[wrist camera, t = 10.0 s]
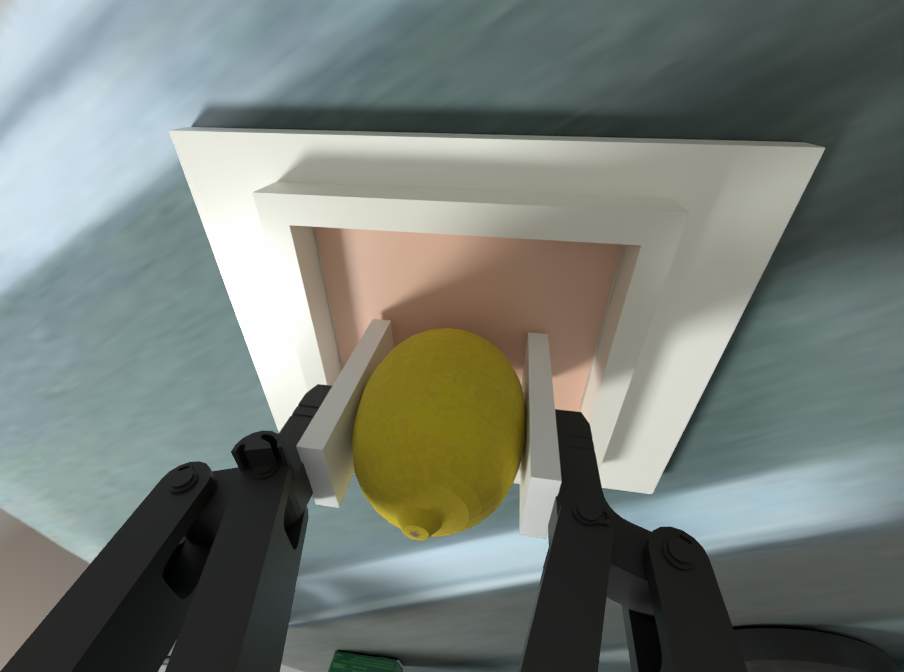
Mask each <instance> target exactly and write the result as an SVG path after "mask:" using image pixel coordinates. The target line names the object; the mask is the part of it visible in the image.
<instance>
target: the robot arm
mask: <svg viewBox="0 0 904 672" xmlns="http://www.w3.org/2000/svg"><path fill="white" fill-rule="evenodd" d="M393 348H394V346H393V336H392V326H391V320H380V319H373V320H372V321H371V323H370V325H369V326H368V328H367V330H366V331H365V333H364V335H363V336H362V338H361V340H360V341H359V343H358V345H357V346H356V348H355V350H354V351H353V353H352V354H351V356H350V358H349V359H348V361H347V363H346V364H345V366H344V368H343V369H342V371H341V373H340V374H339V376H338V378H337V379H336V381H335V383H334V384H333V386H330V385H321V384H317V385H316V386H315V387H313V388H312V389H311V390H309V391H308V392H307V393H306V394H305V395H304V397H303V398H302V400H301V401H300V402H299V404H298V407H296V408H295V410H294V411H293V413H292V416H290V417H289V419H288V420H287V422H286V423H285V425H284V426H283V428H282V429H281V431H280V432H279V434H277V433H275V432H273V431H260V432H255V433H252V434H250V435H248V436H246V437H244V438H243V439H242V440H240V441H239V442H238V443H237V444H236V445H235V447H234V448H233V450H232V451H231V453H232V455H233V457H234V459H235V461H236V463H237V465H238V468H232V469H225V470H219V471H211V469H210V468H209V466H208V465H207V464H206V463H203V462H200V461H199V462H189V463H186V464H183V465H180V466H178V467H176V468H175V469H173V470H171V471H170V472H169V473H168V474H166V475H165V476H164V477H163V478H162V479H161V480H160V482H159V483H158V484H157V485H156V486H155V488H154V489H153V490H152V491H151V492H150V493H149V495H148V496H147V497H146V498H145V499H144V501H143V502H142V503H141V504H140V505H139V507H138V508H137V509H136V510H135V511H134V513H133V514H132V515H131V516H130V517H129V519H128V520H127V521H126V522H125V523H124V525H123V526H122V527H121V528H120V529H119V530H118V532H117V533H116V534H115V535H114V536H113V538H112V539H111V540H110V541H109V542H108V544H107V545H106V546H105V547H104V548H103V550H102V551H101V552H100V553H99V554H98V556H97V557H96V558H95V559H94V560H93V561H92V563H91V564H90V565H89V566H88V568H87V569H86V570H85V571H84V572H83V573H82V575H81V576H80V577H79V578H78V579H77V581H76V582H75V583H74V584H73V585H72V587H71V588H70V589H69V590H68V591H67V592H66V594H65V595H64V596H63V597H62V598H61V600H60V601H59V602H58V603H57V604H56V606H55V607H54V608H53V609H52V610H51V612H50V613H49V614H48V615H47V616H46V618H45V619H44V620H43V621H42V622H41V624H40V625H39V626H38V627H37V628H36V629H35V631H34V632H33V633H32V634H31V635H30V637H29V638H28V639H27V640H26V641H25V643H24V644H23V645H22V646H21V647H20V649H19V650H18V651H17V652H16V653H15V655H14V656H13V657H12V658H11V659H10V660H9V662H8V663H7V664H6V665H5V667H4V668H3V669H2V670H1V671H0V672H158V671H159V669H160V667H161V666H162V664H163V662H164V660H165V659H166V657H167V655H168V653H169V652H170V650H171V648H172V647H173V645H174V643H175V641H176V640H177V641H176V643H175V646H174V648H173V651H172V654H171V656H170V659H169V662H168V664H167V667H166V670H165V672H280V666H281V662H282V656H283V651H284V645H285V640H286V635H287V629H288V624H289V619H290V613H291V608H292V602H293V597H294V592H295V586H296V581H297V576H298V570H299V565H300V560H301V554H302V549H303V543H304V538H305V533H306V527H307V522H308V509H307V504H308V502H309V500H310V498H311V496H312V494H313V497H314V500H315V503H316V504H317V505H324V506H330V507H337V508H339V507H340V505H341V502H342V500H343V498H344V495H345V493H346V490H347V488H348V486H349V483H350V481H351V479H352V476H353V474H354V471H355V470H354V466H353V446H352V439H353V429H354V422H355V418H356V413H357V410H358V407H359V403H360V401H361V398H362V395H363V392H364V389H365V387H366V385H367V382H368V380H369V378H370V377H371V375H372V373H373V372H374V370H375V369H376V368H377V366H378V365H379V364H380V363H381V362H382V360H383V359H384V358H385V357H386V356H387V355H388V353H389V352H390V351H391V350H392V349H393ZM521 386H522V390H523V395H524V400H525V405H526V437H525V443H524V449H523V455H522V459H521V463H520V535H524V536H531V537H537V538H544V539H546V537H547V533H548V537H549V549H548V552H547V556H546V559H545V563H544V566H543V572H542V576H541V580H540V584H539V588H538V592H537V596H536V600H535V604H534V608H533V613H532V617H531V621H530V625H529V629H528V633H527V637H526V641H525V645H524V649H523V653H522V657H521V661H520V665H519V669H518V672H598V664H599V656H600V647H601V638H602V630H603V621H604V612H605V604H606V597H608V598H610V599H611V600H613V601H615V602H617V603H619V604H621V605H622V610H623V616H624V623H625V630H626V637H627V643H628V650H629V657H630V664H631V670H632V672H899V670H898V669H897V667H896V665H895V664H894V662H893V661H892V659H891V658H890V657H889V656H887V655H886V654H885V653H883V652H882V651H880V650H878V649H877V648H875V647H873V646H870V645H868V644H866V643H863V642H860V641H857V640H854V639H850V638H847V637H843V636H838V635H834V634H829V633H823V632H816V631H809V630H799V629H784V628H753V629H738V630H733V627H732V624H731V621H730V618H729V615H728V612H727V610H726V607H725V604H724V601H723V598H722V595H721V592H720V589H719V586H718V583H717V580H716V577H715V574H714V571H713V569H712V566H711V563H710V560H709V558H708V556H707V554H706V552H705V550H704V548H703V547H702V546H701V545H700V544H699V543H698V542H697V541H696V540H695V539H694V538H693V537H692V536H690V535H688V534H687V533H685V532H684V531H682V530H679V529H676V528H673V527H660V528H658V529H656V530H654V531H653V532H651V531H648V530H646V529H644V528H642V527H639V526H637V525H635V524H633V523H630V522H628V521H627V520H625V519H623V518H621V517H620V516H619V515H618V514H616V513H615V512H614V511H613V510H612V509H611V507H610V506H609V505H608V503H607V502H606V500H605V498H604V495H603V491H602V486H601V481H600V475H599V470H598V465H597V459H596V454H595V452H594V443H593V441H592V433H591V427H590V424H589V422H588V421H587V420H586V418H585V417H584V415H583V414H582V412H576V411H567V410H558V409H555V404H554V393H553V382H552V372H551V361H550V350H549V339H548V334H542V333H531V332H528V337H527V344H526V352H525V359H524V366H523V373H522V380H521Z"/></svg>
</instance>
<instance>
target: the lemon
mask: <svg viewBox="0 0 904 672" xmlns="http://www.w3.org/2000/svg"><path fill="white" fill-rule="evenodd" d="M525 437H526V405H525V400H524V395H523V390H522V386H521V383H520V380H519V378H518V376H517V374H516V372H515V371H514V369H513V367H512V365H511V363H510V362H509V360H508V359H507V358H506V356H505V355H504V354H503V353H502V352H501V351H500V350H499V349H498V348H497V347H496V346H495V345H493V344H492V343H491V342H489V341H487V340H486V339H484V338H483V337H481V336H479V335H476V334H474V333H471V332H468V331H465V330H460V329H452V328H441V329H431V330H428V331H425V332H422V333H419V334H415V335H413V336H411V337H410V338H408V339H406V340H405V341H403V342H402V343H400V344H399V345H397V346H396V347H395V348H393V349H392V350H391V351H390V352H389V353H388V355H387V356H386V357H385V358H384V359H383V360H382V362H381V363H380V364H379V365H378V366H377V368H376V369H375V370H374V372H373V373H372V375H371V377H370V378H369V380H368V382H367V385H366V387H365V389H364V392H363V395H362V398H361V401H360V403H359V407H358V410H357V413H356V418H355V422H354V429H353V439H352V446H353V466H354V470H355V474H356V477H357V479H358V482H359V484H360V487H361V489H362V491H363V493H364V495H365V496H366V498H367V499H368V501H369V502H370V503H371V505H372V506H373V507H374V508H375V510H376V511H377V512H378V513H379V514H380V515H381V516H383V517H384V518H385V519H386V520H387V521H388V522H390V523H391V524H393V525H395V526H396V527H398V528H400V529H401V530H402V532H403V533H404V535H405V536H407V537H408V538H410V539H413V540H418V541H422V540H426V539H428V538H429V537H430V536H446V535H451V534H455V533H459V532H461V531H464V530H466V529H469V528H471V527H473V526H475V525H477V524H478V523H480V522H481V521H482V520H484V519H485V518H486V517H487V516H489V515H490V514H491V513H492V512H494V511H495V510H496V509H497V507H498V506H499V505H500V504H501V503H502V501H503V499H504V498H505V496H506V494H507V493H508V491H509V489H510V488H511V486H512V484H513V482H514V480H515V477H516V475H517V472H518V469H519V466H520V463H521V459H522V455H523V449H524V443H525Z"/></svg>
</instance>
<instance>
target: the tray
mask: <svg viewBox="0 0 904 672" xmlns="http://www.w3.org/2000/svg"><path fill="white" fill-rule="evenodd" d="M169 132H170V135H171V138H172V141H173V143H174V146H175V149H176V152H177V154H178V157H179V160H180V163H181V165H182V168H183V171H184V174H185V176H186V179H187V182H188V184H189V187H190V190H191V193H192V195H193V198H194V201H195V204H196V206H197V209H198V212H199V215H200V217H201V220H202V223H203V226H204V228H205V231H206V234H207V236H208V239H209V242H210V245H211V247H212V250H213V253H214V256H215V258H216V261H217V264H218V267H219V269H220V272H221V275H222V278H223V280H224V283H225V286H226V288H227V291H228V294H229V297H230V299H231V302H232V305H233V308H234V310H235V313H236V316H237V319H238V321H239V324H240V327H241V330H242V332H243V335H244V338H245V341H246V343H247V346H248V349H249V351H250V354H251V357H252V360H253V362H254V365H255V368H256V371H257V373H258V376H259V379H260V382H261V384H262V387H263V390H264V393H265V395H266V398H267V401H268V403H269V406H270V409H271V412H272V414H273V417H274V420H275V423H276V425H277V428H278V431H279V432H280V431H281V429H282V428H283V426H284V425H285V423H286V422H287V420H288V419H289V417H290V416H292V413H293V411H294V410H295V408H296V407H298V404H299V402H300V401H301V400H302V398H303V397H304V395H305V394H306V393H307V392H308V391H309V390H311V389H312V388H313V387H315V386H316V385H317V384H321V385H330V386H333V384H334V383H335V381H336V379H337V378H338V376H339V374H340V373H341V371H342V369H343V368H344V366H345V364H346V363H347V361H348V359H349V358H350V356H351V354H352V353H353V351H354V350H355V348H356V346H357V345H358V343H359V341H360V340H361V338H362V336H363V335H364V333H365V331H366V330H367V328H368V326H369V325H370V323H371V321H372V320H373V319H380V320H391V326H392V336H393V346H394V348H395V347H396V346H397V345H399V344H400V343H402V342H403V341H405V340H406V339H408V338H410V337H411V336H413V335H415V334H419V333H422V332H425V331H428V330H431V329H441V328H452V329H460V330H465V331H468V332H471V333H474V334H476V335H479V336H481V337H483V338H484V339H486V340H487V341H489V342H491V343H492V344H493V345H495V346H496V347H497V348H498V349H499V350H500V351H501V352H502V353H503V354H504V355H505V356H506V358H507V359H508V360H509V362H510V363H511V365H512V367H513V369H514V371H515V372H516V374H517V376H518V378H519V380H520V383H521V380H522V373H523V366H524V359H525V352H526V344H527V337H528V332H531V333H542V334H548V339H549V350H550V361H551V372H552V382H553V393H554V404H555V409H558V410H567V411H576V412H582V414H583V415H584V417H585V418H586V420H587V421H588V422H589V424H590V427H591V433H592V441H593V443H594V452H595V454H596V459H597V465H598V470H599V475H600V481H601V486H602V488H609V489H616V490H624V491H632V492H639V493H647V494H652V493H653V491H654V489H655V487H656V485H657V483H658V481H659V479H660V477H661V475H662V473H663V471H664V469H665V467H666V465H667V463H668V461H669V459H670V457H671V455H672V453H673V451H674V449H675V447H676V445H677V443H678V441H679V439H680V437H681V435H682V433H683V431H684V429H685V427H686V425H687V423H688V421H689V419H690V417H691V415H692V413H693V411H694V409H695V407H696V405H697V403H698V401H699V399H700V397H701V395H702V393H703V391H704V389H705V387H706V385H707V383H708V381H709V379H710V378H711V376H712V374H713V372H714V370H715V368H716V366H717V364H718V362H719V360H720V358H721V356H722V354H723V352H724V350H725V348H726V346H727V344H728V342H729V340H730V338H731V336H732V334H733V332H734V330H735V328H736V326H737V324H738V322H739V320H740V318H741V316H742V314H743V312H744V310H745V308H746V306H747V304H748V302H749V300H750V298H751V296H752V294H753V292H754V290H755V288H756V286H757V284H758V282H759V280H760V278H761V276H762V274H763V272H764V270H765V268H766V266H767V264H768V262H769V260H770V258H771V256H772V254H773V252H774V250H775V248H776V246H777V244H778V242H779V240H780V238H781V236H782V234H783V232H784V230H785V228H786V226H787V224H788V222H789V220H790V218H791V216H792V214H793V212H794V210H795V208H796V206H797V204H798V202H799V200H800V198H801V196H802V194H803V192H804V190H805V188H806V186H807V184H808V182H809V180H810V178H811V176H812V174H813V172H814V170H815V168H816V166H817V164H818V162H819V160H820V158H821V156H822V154H823V152H824V150H825V147H821V146H817V145H813V144H809V143H805V142H775V141H734V140H694V139H654V138H613V137H573V136H533V135H492V134H452V133H412V132H371V131H331V130H291V129H250V128H210V127H187V128H181V129H175V130H169ZM513 483H517V484H520V466H519V469H518V472H517V475H516V477H515V480H514V482H513Z"/></svg>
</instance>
